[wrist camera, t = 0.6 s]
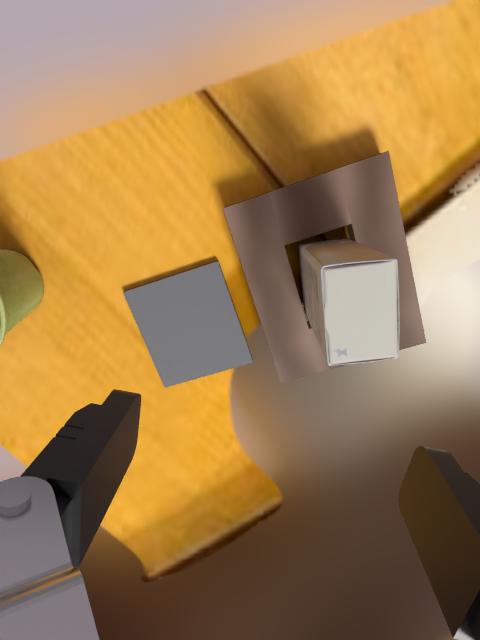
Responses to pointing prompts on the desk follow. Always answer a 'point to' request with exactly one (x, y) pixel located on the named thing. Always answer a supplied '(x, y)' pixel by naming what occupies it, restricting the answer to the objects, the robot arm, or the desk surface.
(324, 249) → the skincare box
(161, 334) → the mat
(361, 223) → the puzzle board
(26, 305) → the plant pot
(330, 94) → the desk surface
